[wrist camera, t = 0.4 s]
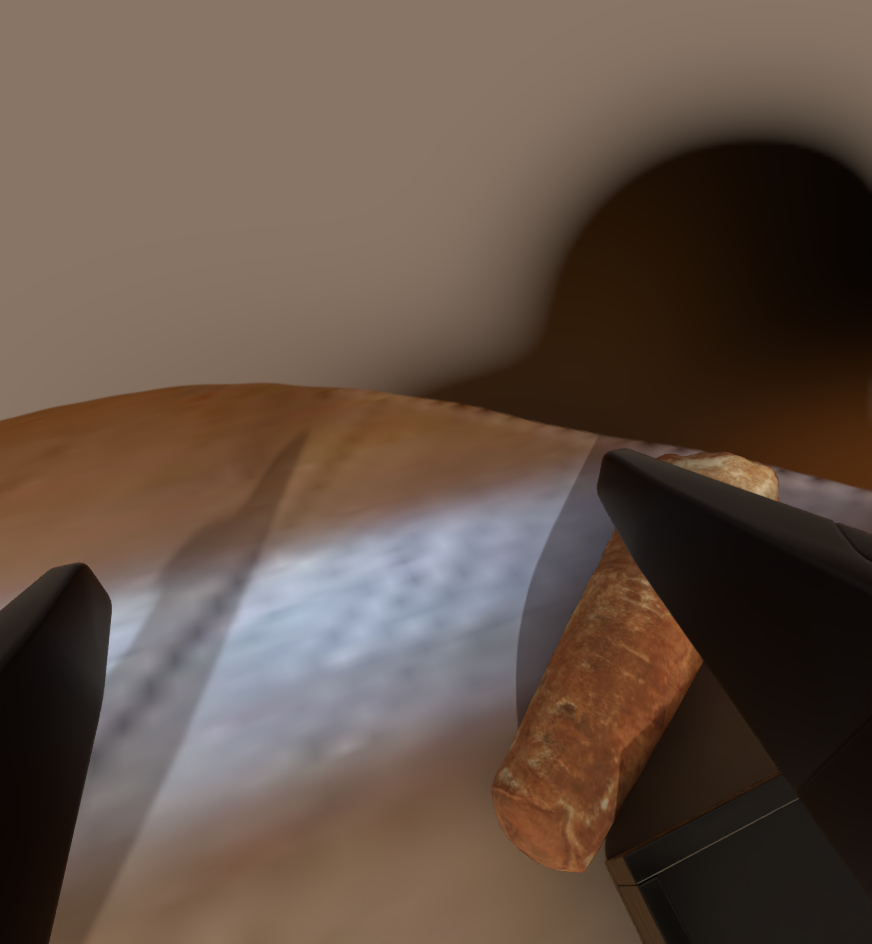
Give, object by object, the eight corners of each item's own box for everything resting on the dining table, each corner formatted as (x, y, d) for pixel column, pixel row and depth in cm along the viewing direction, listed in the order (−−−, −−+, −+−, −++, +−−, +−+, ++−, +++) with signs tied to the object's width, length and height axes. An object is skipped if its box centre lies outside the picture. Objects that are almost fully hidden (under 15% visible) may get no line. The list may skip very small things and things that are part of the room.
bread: (763, 540, 25) (810, 472, 21) (581, 912, 17) (599, 922, 13) (647, 488, 28) (667, 420, 24) (446, 781, 20) (425, 754, 16)
